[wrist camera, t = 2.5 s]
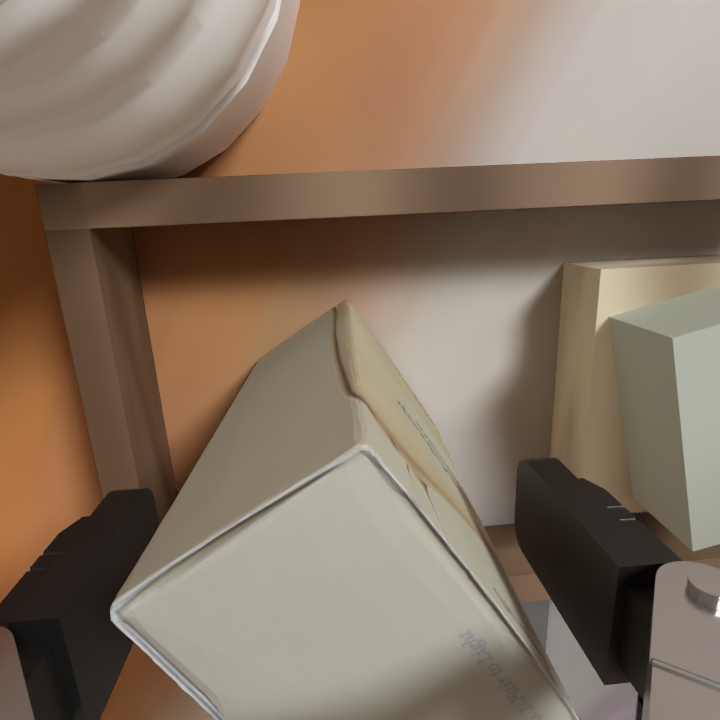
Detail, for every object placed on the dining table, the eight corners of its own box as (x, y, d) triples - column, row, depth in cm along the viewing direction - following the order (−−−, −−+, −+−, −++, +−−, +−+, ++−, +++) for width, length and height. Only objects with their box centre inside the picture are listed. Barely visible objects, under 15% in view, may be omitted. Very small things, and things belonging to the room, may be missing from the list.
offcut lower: (735, 252, 18) (811, 257, 16) (700, 464, 21) (760, 502, 18) (557, 261, 18) (600, 269, 15) (543, 475, 21) (578, 517, 18)
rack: (781, 161, 17) (874, 149, 14) (714, 531, 21) (775, 579, 18) (87, 191, 16) (34, 184, 13) (161, 578, 20) (133, 637, 17)
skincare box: (435, 422, 19) (609, 739, 7) (342, 482, 19) (368, 872, 8) (343, 291, 17) (379, 432, 6) (244, 360, 18) (89, 622, 6)
